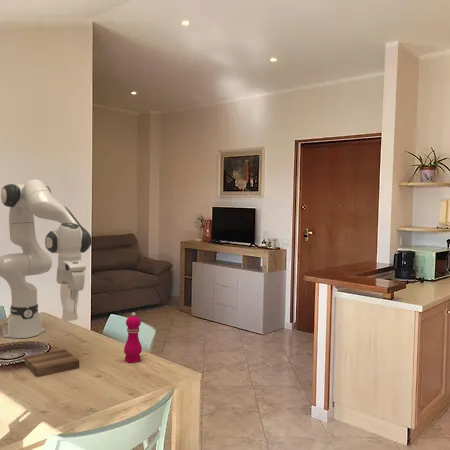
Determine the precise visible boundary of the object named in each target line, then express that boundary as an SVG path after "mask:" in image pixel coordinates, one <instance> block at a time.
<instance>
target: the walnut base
mask: <svg viewBox="0 0 450 450" xmlns="http://www.w3.org/2000/svg"><path fill="white" fill-rule="evenodd" d="M24 365H25V366H26V367H27V368H28V369H29V371H30V372H32V374H33V375H34V376H35V377H36V378H39V377H44V376H49V375H53V374H57V373H58V374H59V373H62V372H67V371H72V370H76V369H80V359H78V358H77V357H75V356H74V355H73V354H72V353H70V352H69V350H66V349H64V348H63V349H60V350H59V349H57V350H53V351H48V352H42V353H37V354H31V355H25V356H24Z"/></svg>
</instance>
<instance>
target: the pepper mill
mask: <svg viewBox="0 0 450 450" xmlns="http://www.w3.org/2000/svg"><path fill="white" fill-rule="evenodd" d="M141 323H142V320H141V318H140V317H139V316H136V312H132V313H131V316H128V317H127V319H126V320H125V326H126V327H127V329H126V331H127V339H126V342H125V345H124V347H123V353H124V354H125V356H124V361H125V363H130V364H135V363H134V362H136V363H139V362H140V361H141V355H140V354H141V353H142V352H143V348H142V344H141V341H140V339H139V332H140V326H141ZM138 361H139V362H138Z"/></svg>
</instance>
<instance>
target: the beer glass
mask: <svg viewBox="0 0 450 450" xmlns="http://www.w3.org/2000/svg"><path fill="white" fill-rule="evenodd" d="M59 290H60V301H61V306H62V316H61V320H62V321H65V322H73V321H76V320H78V318H79V316H78V303H79V294H80V291H78V293H77V296H76V300H71V294H72V292H71V289H69V288H68V284H63V282H61V284H60V289H59Z"/></svg>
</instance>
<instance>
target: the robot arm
mask: <svg viewBox="0 0 450 450" xmlns="http://www.w3.org/2000/svg"><path fill="white" fill-rule="evenodd" d="M0 199H1V203H2V205H4V206H5V207H8V208H9V213H8V227H9V228H8V230H9V240H10V241H11V243H13V244H14V245H15V246H18V247H19V248H21V249H22V252H21V253H20V252H18V253H9V254H4V255H1V256H0V278H2V279H4V281H6V283H7V284H8V285H9V289H10V292H11V305H10V308H9V309H10V310H9V311H10V313H9V315H8V317H7V318H6V319H5V320H3V327H2V328H1V332H2V337H3V338H11V339H12V338H13V339H25V338H32V337H35V336H38V335H40V334H41V333H43V332H45V331H46V329H45V328H43V326H42V325H43V324H42V315H41V314H40V313H39V303H38V290H37V287H36V286H35V285H34V284H32V283H29V282H27V280H26V277H28V276H37V275H38V276H39V275H42V274H45V273H47V272H49V271H50V270H51V268H52V265H53V260H52V256H51V255H50V254H49V253H48V252H50V253H51V254H58V256H57V268H56V283H57V284H58V285H61V282H63V284H68V288H69V289H71V292H72V294H71V300H76V296H77V293H78V291H79V292H80V291H83V290H84V289H85V279H86V278H85V275H86V274H85V271H86V269H87V267H86V265H85V263H84V262H83V260H82V253H86V252H88V250H89V249H90V247H91V245H92V239H93V238H92V235H91V234H90V232H89V231H88V230H87V229H85V228H84V226H82V225H81V223H80V222H79V221H78V220H77V218H76V217H75V216H74V215H73V213H72V212H71V211H70V209H69V208H68V207H67V206H65V205H63V203H61V202H59V201H58V200H57V199H56V198H55V197H54V196H53V194H52V190H51V189H50V187H49V186H48V185H46V183H44V182H43V181H42V180H41V179H34V178H33V179H30V180H28V181H27V182H25V183H18V184H17V183H16V184H15V183H10V184H5V185H4V186H3V187H2V188H1V191H0ZM35 217H37V218H38V219H43V220H47V221H54V222H57V223H60V224H59V227H58V228H57V229H54V230H50V231H49V232H48V233H47V234H46V236H45V239H44V240H45V241H44V243H45V249H47V251H48V252H46V251H44V249H43V248H42V247H41V246H40V245H39V243H38V240H37V235H36V226H35Z"/></svg>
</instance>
